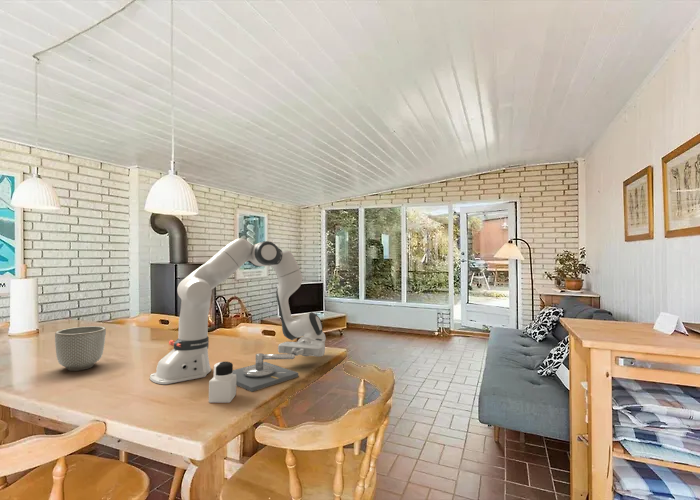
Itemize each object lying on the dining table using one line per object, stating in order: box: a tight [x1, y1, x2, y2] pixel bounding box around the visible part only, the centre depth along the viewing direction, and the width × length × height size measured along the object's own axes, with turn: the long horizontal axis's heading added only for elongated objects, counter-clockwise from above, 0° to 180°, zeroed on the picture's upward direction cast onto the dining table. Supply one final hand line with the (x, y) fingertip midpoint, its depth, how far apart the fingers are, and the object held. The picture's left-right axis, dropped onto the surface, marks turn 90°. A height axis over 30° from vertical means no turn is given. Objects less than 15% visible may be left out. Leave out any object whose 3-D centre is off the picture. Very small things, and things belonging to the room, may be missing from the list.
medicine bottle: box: [208, 361, 237, 404], centre depth 122 cm, size 7×7×12 cm
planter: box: [54, 325, 107, 372], centre depth 152 cm, size 17×17×16 cm
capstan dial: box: [244, 353, 296, 378], centre depth 144 cm, size 20×12×7 cm, turn 94°
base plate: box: [233, 361, 299, 393], centre depth 143 cm, size 22×22×2 cm
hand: (294, 353), depth 149 cm, fingers closed
